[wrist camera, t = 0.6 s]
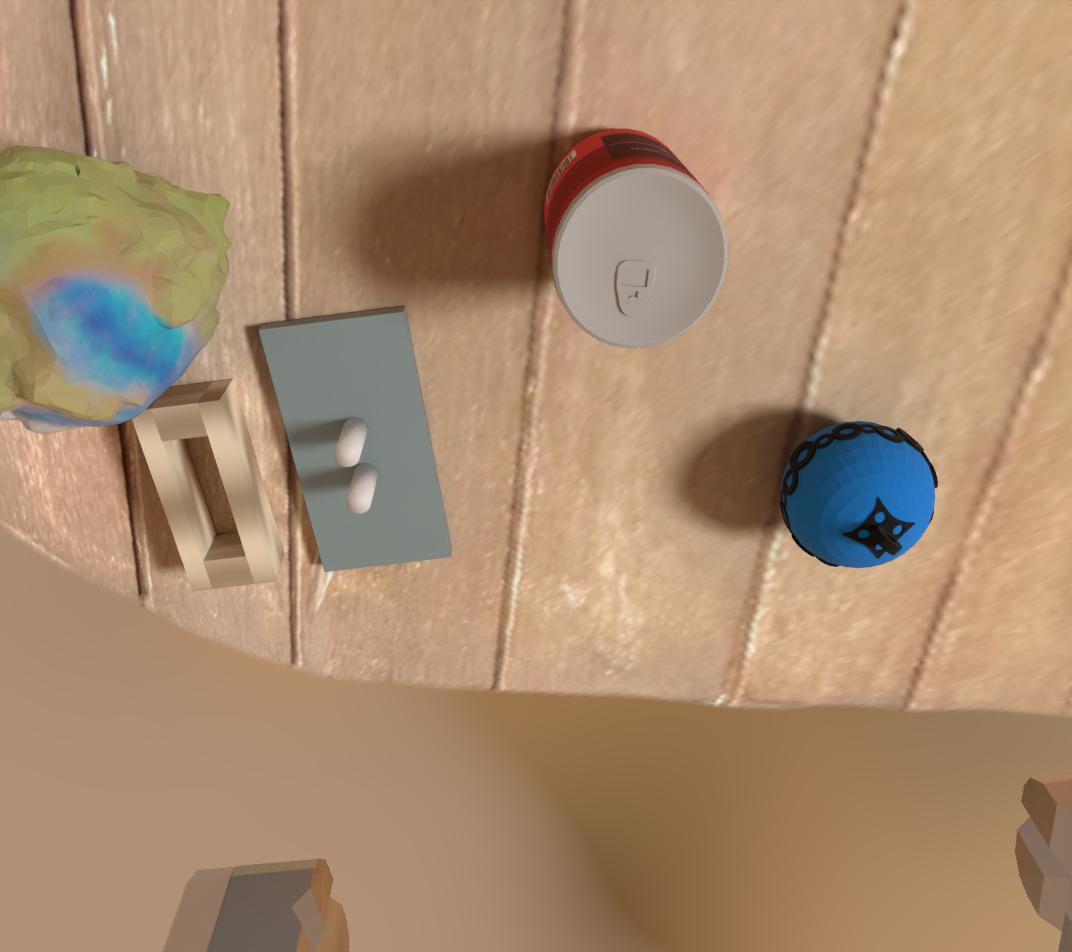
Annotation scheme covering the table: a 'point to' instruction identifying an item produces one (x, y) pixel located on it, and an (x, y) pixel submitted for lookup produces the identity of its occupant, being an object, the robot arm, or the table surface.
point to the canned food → (632, 240)
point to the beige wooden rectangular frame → (172, 470)
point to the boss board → (359, 436)
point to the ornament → (858, 494)
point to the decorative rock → (100, 287)
